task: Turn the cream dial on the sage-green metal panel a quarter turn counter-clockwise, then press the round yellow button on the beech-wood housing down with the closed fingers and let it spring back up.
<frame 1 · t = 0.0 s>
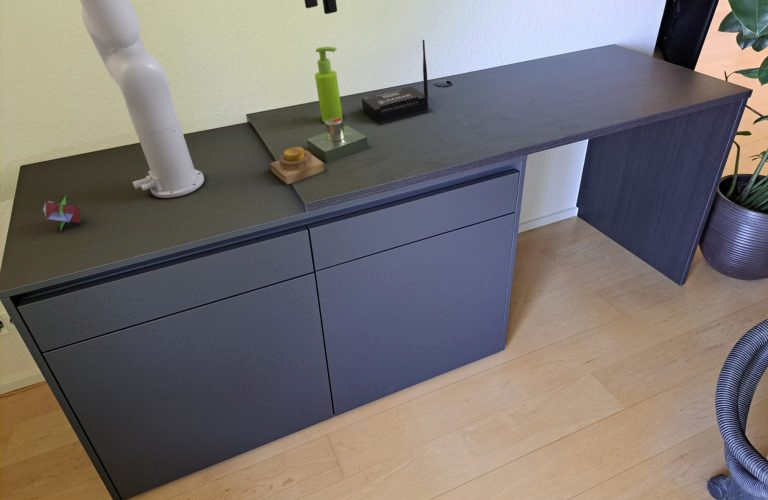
hand: (321, 9, 134), 31 cm above the table, tool pointing down, fingers open, 9 cm apart
geometric puzzle: (69, 225, 124), on the table
dial panel: (337, 148, 143), on the table
button housing: (297, 171, 135), on the table
round yellow button: (294, 154, 132), point 4 cm above the table, slide at 0.1 cm
wireless controller: (401, 109, 161), on the table
soap dispenser: (334, 119, 160), on the table
dial: (334, 128, 140), point 5 cm above the table, hinge at 0.0°
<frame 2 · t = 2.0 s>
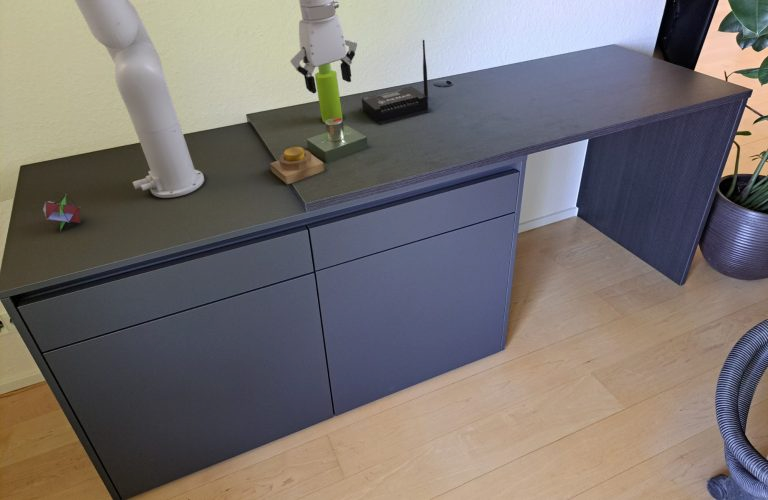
hand: (329, 86, 135), 16 cm above the table, tool pointing down, fingers open, 9 cm apart
nothing on the table moved.
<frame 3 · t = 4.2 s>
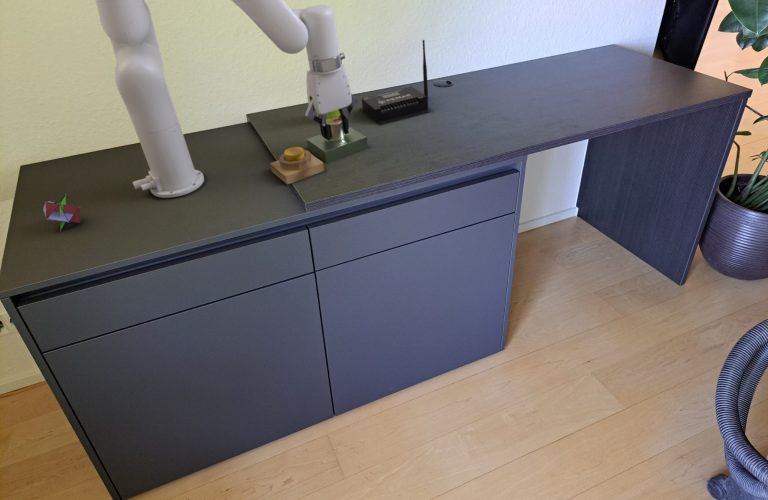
hand: (335, 134, 141), 4 cm above the table, tool pointing down, fingers closed on dial, 4 cm apart
dial: (334, 128, 140), point 5 cm above the table, hinge at 0.1°, touching gripper
everything else where it was.
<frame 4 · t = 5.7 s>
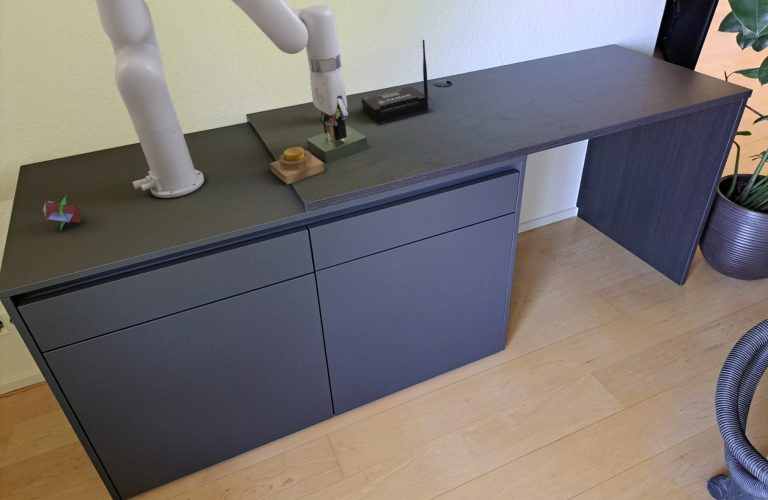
hand: (335, 134, 141), 4 cm above the table, tool pointing down, fingers closed on dial, 4 cm apart
dial: (334, 128, 140), point 5 cm above the table, hinge at 90.0°, touching gripper
everything else where it was.
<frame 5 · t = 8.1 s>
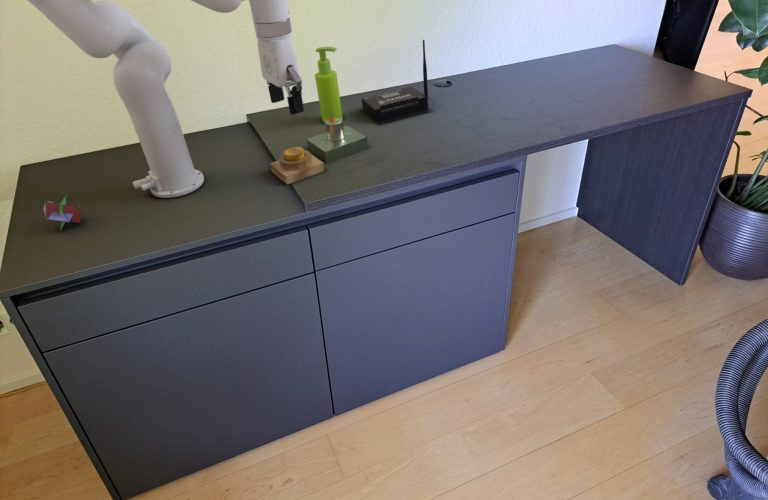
hand: (287, 106, 126), 16 cm above the table, tool pointing down, fingers open, 9 cm apart
dial: (334, 128, 140), point 5 cm above the table, hinge at 88.9°
everything else where it was.
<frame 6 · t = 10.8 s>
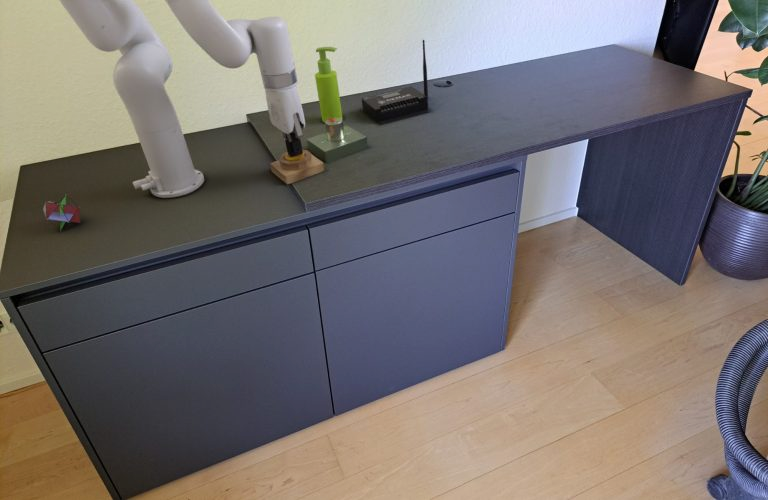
hand: (295, 154, 132), 4 cm above the table, tool pointing down, fingers closed
round yellow button: (295, 158, 133), point 4 cm above the table, slide at -0.9 cm, touching gripper
everything else where it was.
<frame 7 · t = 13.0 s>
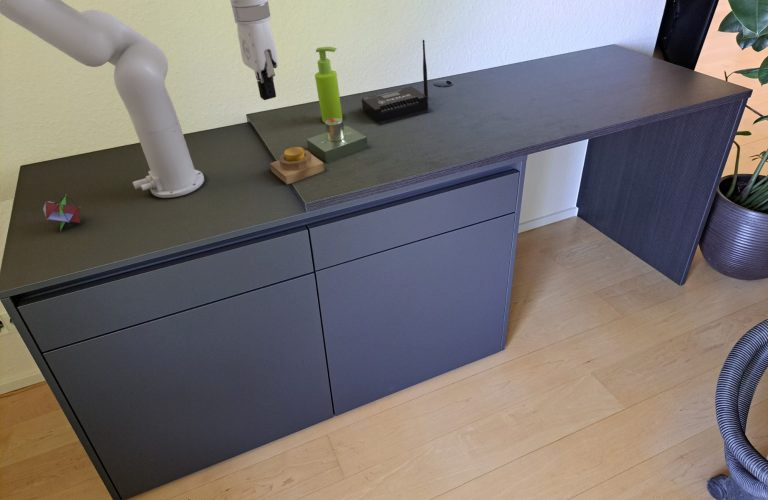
hand: (268, 97, 127), 18 cm above the table, tool pointing down, fingers closed
round yellow button: (294, 154, 132), point 4 cm above the table, slide at 0.1 cm
everything else where it was.
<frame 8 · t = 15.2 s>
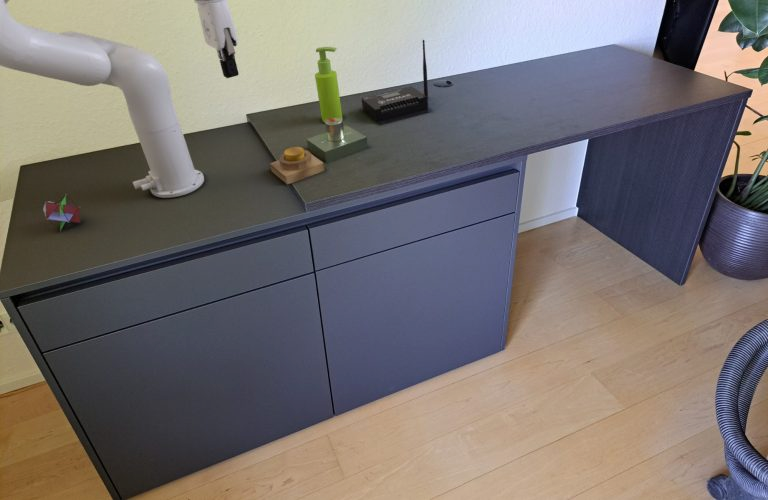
hand: (231, 75, 132), 21 cm above the table, tool pointing down, fingers closed
nothing on the table moved.
at the end: dial at +89° (first picture: +0°); round yellow button pushed in 1.1 cm at the most during the clip, back to where it started at the end; round yellow button slide at 0.1 cm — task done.
